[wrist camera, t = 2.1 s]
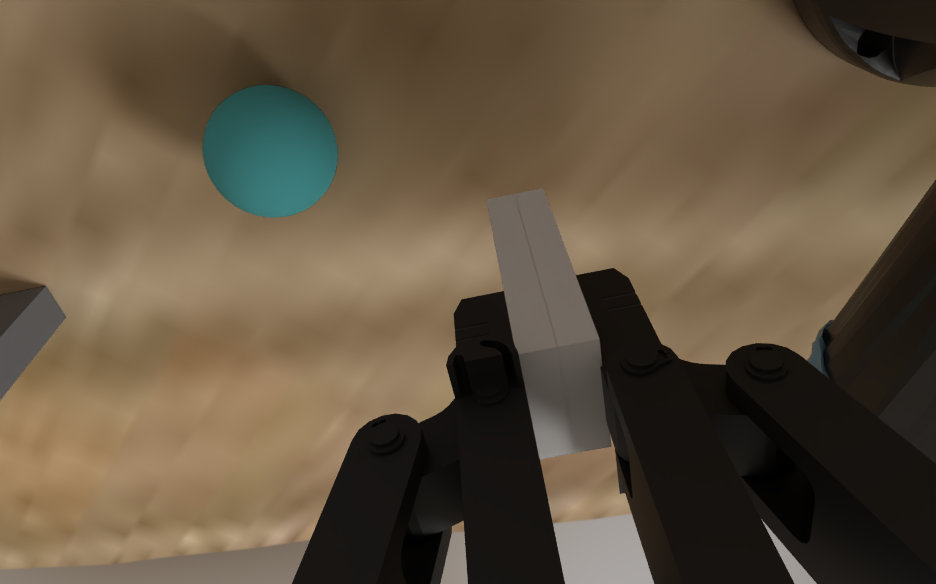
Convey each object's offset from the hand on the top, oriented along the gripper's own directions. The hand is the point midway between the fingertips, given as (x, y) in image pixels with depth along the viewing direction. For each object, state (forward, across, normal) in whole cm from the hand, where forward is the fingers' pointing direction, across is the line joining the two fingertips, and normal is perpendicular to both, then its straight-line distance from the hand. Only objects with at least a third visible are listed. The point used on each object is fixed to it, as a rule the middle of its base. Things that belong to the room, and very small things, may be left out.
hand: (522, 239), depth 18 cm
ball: (+12, +9, 0) cm, 15 cm away
